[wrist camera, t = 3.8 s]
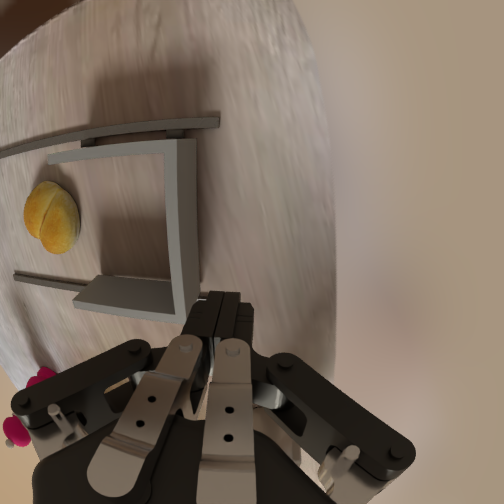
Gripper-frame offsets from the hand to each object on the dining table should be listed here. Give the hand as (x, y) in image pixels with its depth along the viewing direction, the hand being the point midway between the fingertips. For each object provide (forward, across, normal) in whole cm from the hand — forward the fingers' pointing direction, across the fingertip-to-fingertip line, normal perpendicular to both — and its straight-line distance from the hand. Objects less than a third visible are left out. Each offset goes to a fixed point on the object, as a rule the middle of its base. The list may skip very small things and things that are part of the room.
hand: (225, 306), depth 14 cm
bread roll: (+16, +24, 0) cm, 28 cm away
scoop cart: (+15, +12, 0) cm, 19 cm away
